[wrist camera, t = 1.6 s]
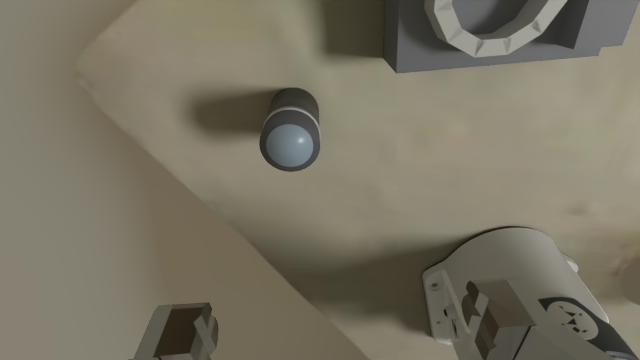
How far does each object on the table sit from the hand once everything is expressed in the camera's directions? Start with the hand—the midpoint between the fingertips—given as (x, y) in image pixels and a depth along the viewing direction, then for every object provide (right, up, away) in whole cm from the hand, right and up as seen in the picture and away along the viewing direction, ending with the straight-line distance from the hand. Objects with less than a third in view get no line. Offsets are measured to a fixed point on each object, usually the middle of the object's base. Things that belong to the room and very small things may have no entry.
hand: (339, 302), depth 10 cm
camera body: (+11, +19, +14) cm, 26 cm away
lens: (-3, +10, +19) cm, 22 cm away
